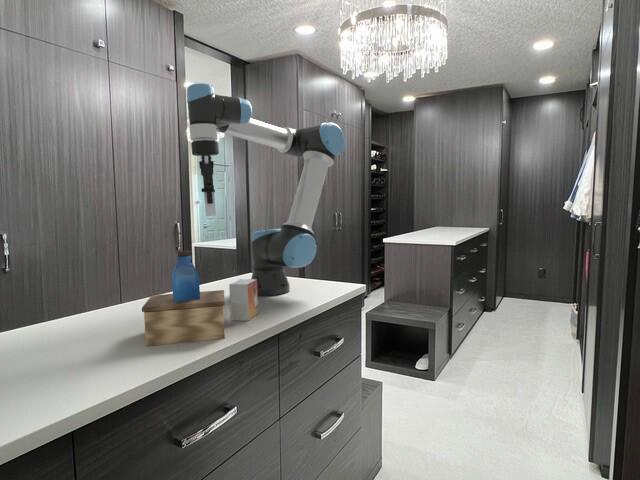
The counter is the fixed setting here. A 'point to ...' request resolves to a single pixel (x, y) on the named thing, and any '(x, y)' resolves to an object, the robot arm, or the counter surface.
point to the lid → (168, 302)
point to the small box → (243, 299)
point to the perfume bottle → (185, 279)
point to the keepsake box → (184, 325)
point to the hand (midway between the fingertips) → (210, 215)
